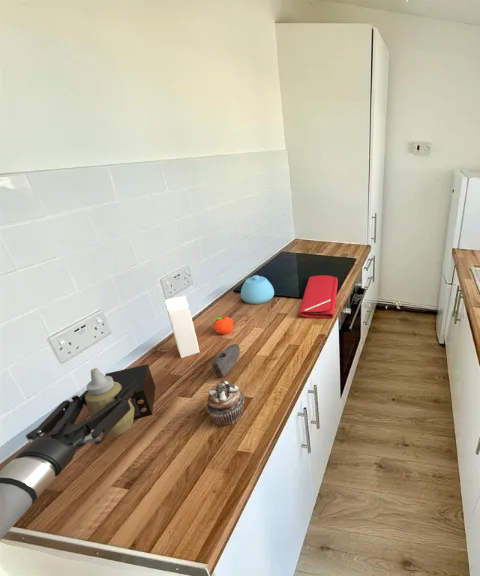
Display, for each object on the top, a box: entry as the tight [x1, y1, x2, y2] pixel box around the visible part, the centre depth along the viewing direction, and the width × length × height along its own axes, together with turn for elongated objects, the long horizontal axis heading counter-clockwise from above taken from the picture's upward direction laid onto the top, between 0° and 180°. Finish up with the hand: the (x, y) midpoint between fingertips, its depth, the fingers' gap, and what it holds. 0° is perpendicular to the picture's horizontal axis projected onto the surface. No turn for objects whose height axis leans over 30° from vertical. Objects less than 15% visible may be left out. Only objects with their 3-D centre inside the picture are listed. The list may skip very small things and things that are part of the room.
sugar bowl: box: [240, 274, 275, 305], centre depth 153 cm, size 15×15×12 cm
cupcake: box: [206, 379, 246, 427], centre depth 90 cm, size 10×10×10 cm
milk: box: [164, 295, 201, 359], centre depth 112 cm, size 6×6×22 cm
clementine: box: [212, 315, 234, 335], centre depth 127 cm, size 8×7×7 cm
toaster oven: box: [104, 364, 157, 421], centre depth 91 cm, size 10×13×9 cm
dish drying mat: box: [298, 274, 339, 319], centre depth 159 cm, size 16×41×4 cm, turn 5°
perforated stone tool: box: [211, 343, 241, 379], centre depth 109 cm, size 15×5×7 cm, turn 175°
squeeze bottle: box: [85, 367, 134, 438], centre depth 76 cm, size 8×8×18 cm
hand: (120, 381), depth 80 cm, fingers closed on squeeze bottle, 6 cm apart
